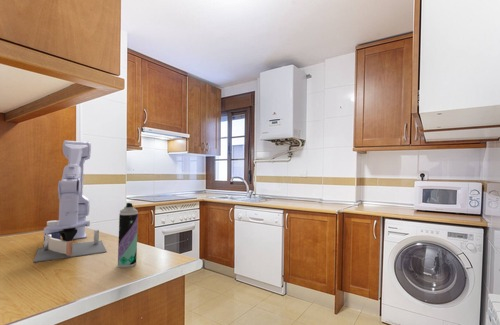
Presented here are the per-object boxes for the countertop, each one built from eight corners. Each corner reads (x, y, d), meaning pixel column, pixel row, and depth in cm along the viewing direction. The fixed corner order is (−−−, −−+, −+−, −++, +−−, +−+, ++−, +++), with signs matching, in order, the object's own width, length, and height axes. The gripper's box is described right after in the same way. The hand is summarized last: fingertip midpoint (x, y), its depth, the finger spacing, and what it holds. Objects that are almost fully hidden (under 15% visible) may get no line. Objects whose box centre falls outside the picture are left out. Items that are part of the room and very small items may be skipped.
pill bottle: (63, 244, 106) (64, 220, 107) (52, 247, 101) (53, 222, 102) (51, 243, 107) (52, 219, 107) (39, 247, 102) (41, 222, 102)
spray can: (113, 267, 82) (116, 203, 83) (124, 261, 87) (126, 201, 88) (129, 268, 81) (132, 204, 82) (139, 262, 86) (141, 202, 87)
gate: (47, 250, 96) (48, 237, 96) (52, 249, 97) (52, 236, 97) (68, 255, 90) (68, 242, 90) (72, 254, 91) (72, 241, 91)
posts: (44, 250, 97) (45, 234, 97) (98, 244, 107) (98, 229, 107) (44, 252, 96) (44, 235, 96) (98, 245, 106) (99, 230, 106)
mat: (38, 248, 99) (38, 247, 99) (101, 241, 111) (101, 240, 111) (33, 262, 85) (33, 261, 85) (106, 252, 97) (106, 251, 97)
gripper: (52, 215, 86) (50, 257, 86) (95, 210, 99) (93, 246, 99) (41, 214, 89) (39, 253, 89) (83, 208, 102) (82, 243, 102)
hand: (67, 249), depth 94 cm, fingers closed
